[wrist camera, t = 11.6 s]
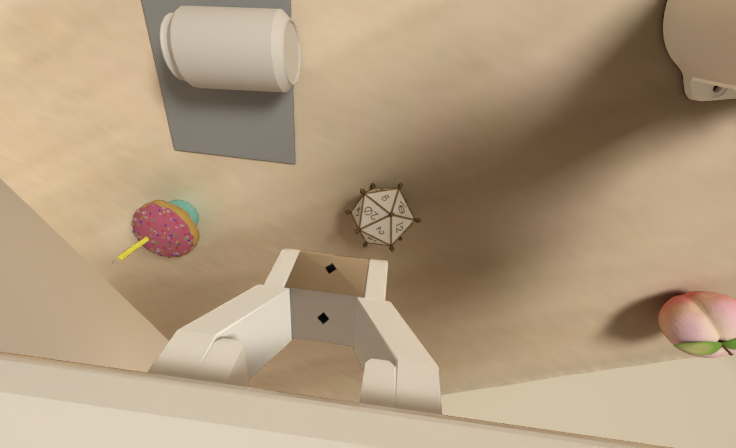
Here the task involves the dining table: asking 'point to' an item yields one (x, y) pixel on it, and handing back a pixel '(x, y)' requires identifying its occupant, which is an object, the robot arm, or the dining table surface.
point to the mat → (223, 101)
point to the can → (232, 48)
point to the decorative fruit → (700, 323)
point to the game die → (382, 215)
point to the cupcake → (165, 228)
